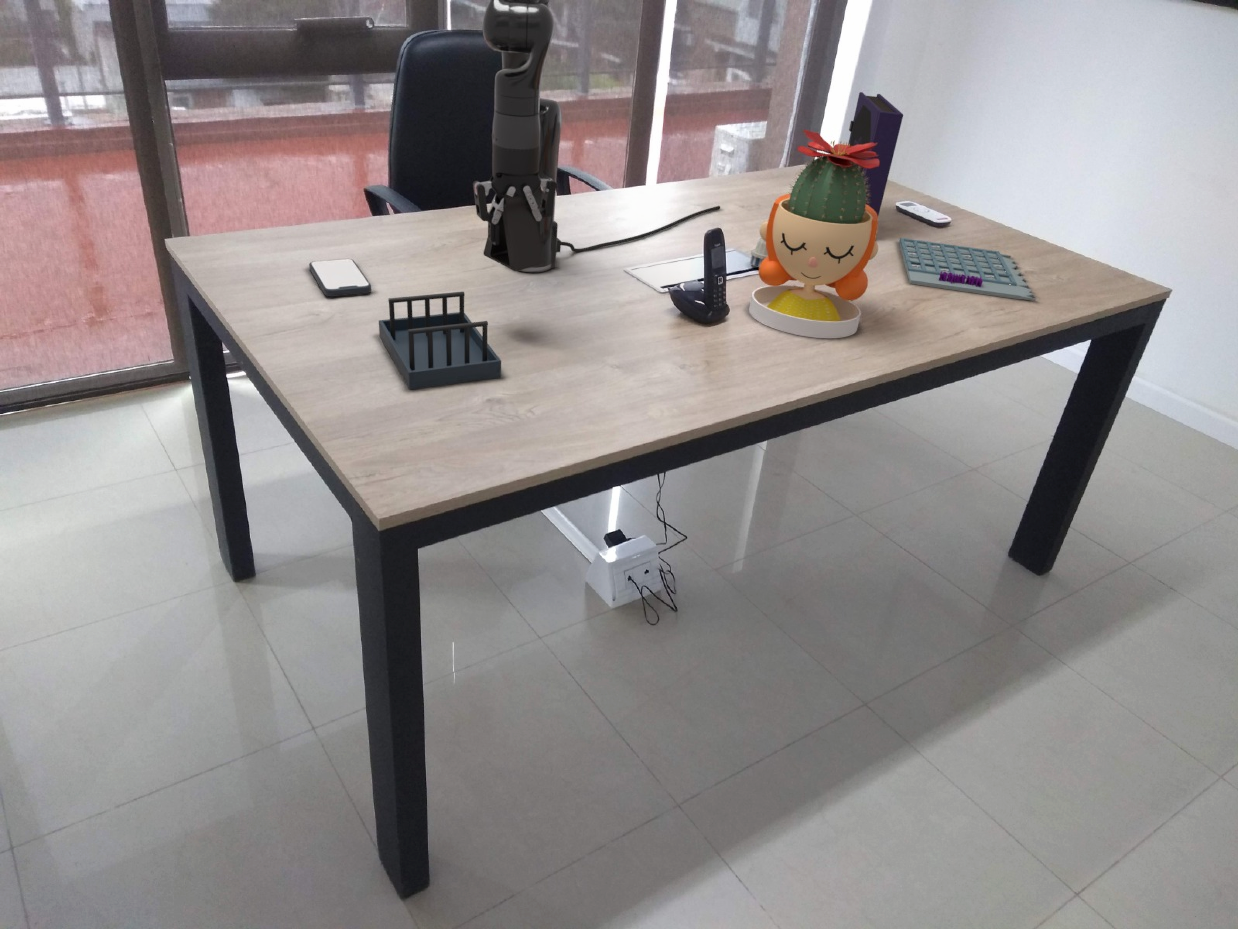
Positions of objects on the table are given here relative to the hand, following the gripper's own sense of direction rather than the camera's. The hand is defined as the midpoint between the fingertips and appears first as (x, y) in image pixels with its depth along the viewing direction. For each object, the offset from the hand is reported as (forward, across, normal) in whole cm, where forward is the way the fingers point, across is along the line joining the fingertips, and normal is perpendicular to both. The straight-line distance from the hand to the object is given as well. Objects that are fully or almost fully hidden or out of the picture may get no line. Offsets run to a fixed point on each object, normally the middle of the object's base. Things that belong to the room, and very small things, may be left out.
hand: (514, 241), depth 154 cm
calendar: (+18, +113, +4) cm, 114 cm away
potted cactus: (+17, +59, -7) cm, 62 cm away
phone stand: (+3, 0, 0) cm, 3 cm away
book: (+18, +107, +38) cm, 115 cm away
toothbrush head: (+17, +75, +20) cm, 79 cm away
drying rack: (+16, -15, -6) cm, 23 cm away
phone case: (+17, -24, +30) cm, 42 cm away
